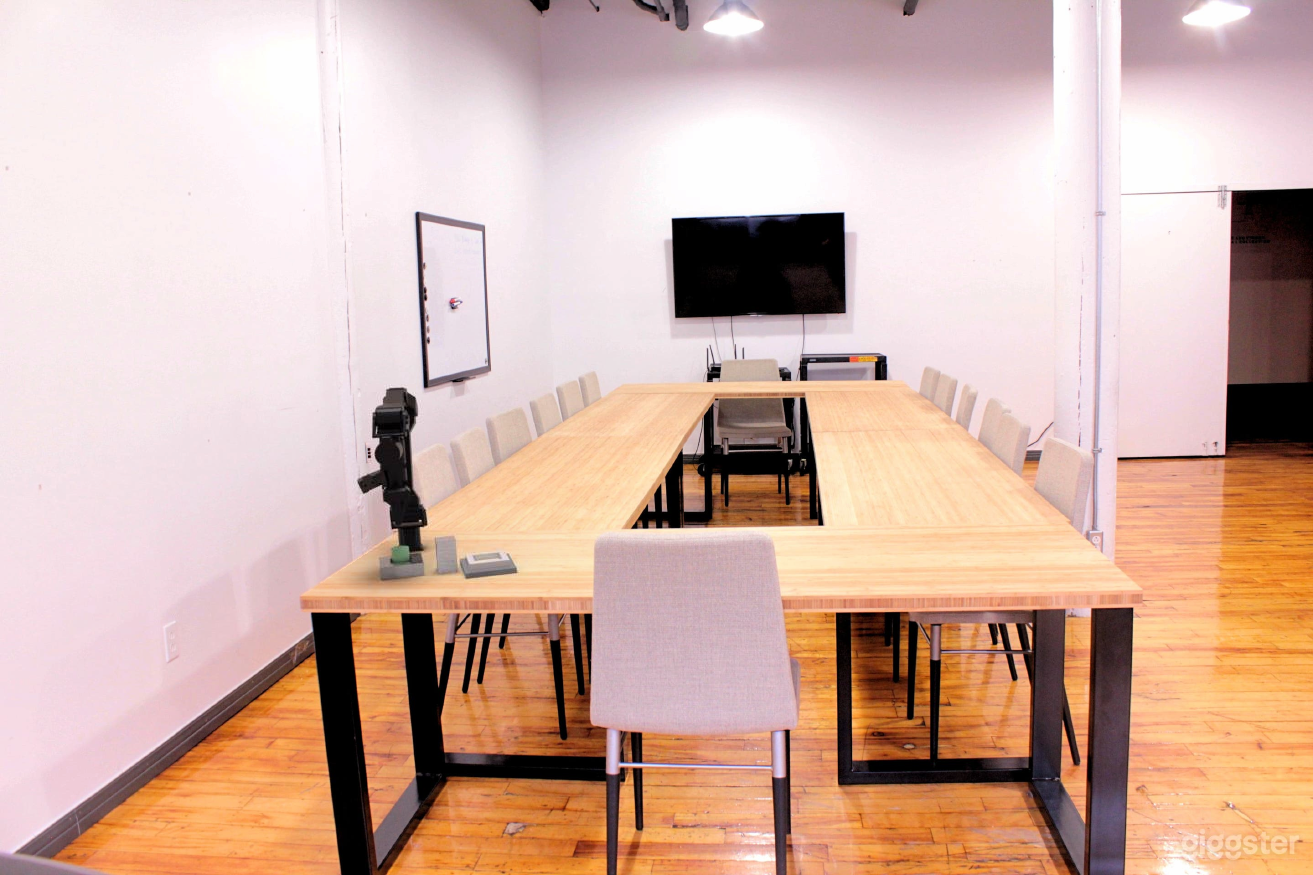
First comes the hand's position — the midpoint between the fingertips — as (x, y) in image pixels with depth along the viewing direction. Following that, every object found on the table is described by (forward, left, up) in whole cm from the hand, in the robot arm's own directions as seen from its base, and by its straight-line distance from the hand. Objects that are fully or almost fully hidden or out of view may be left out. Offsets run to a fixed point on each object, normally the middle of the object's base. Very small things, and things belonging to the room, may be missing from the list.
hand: (398, 523), depth 236 cm
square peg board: (0, 0, -12) cm, 12 cm away
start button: (0, 0, -10) cm, 10 cm away
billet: (+4, +10, -12) cm, 16 cm away
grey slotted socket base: (+5, +20, -12) cm, 24 cm away
